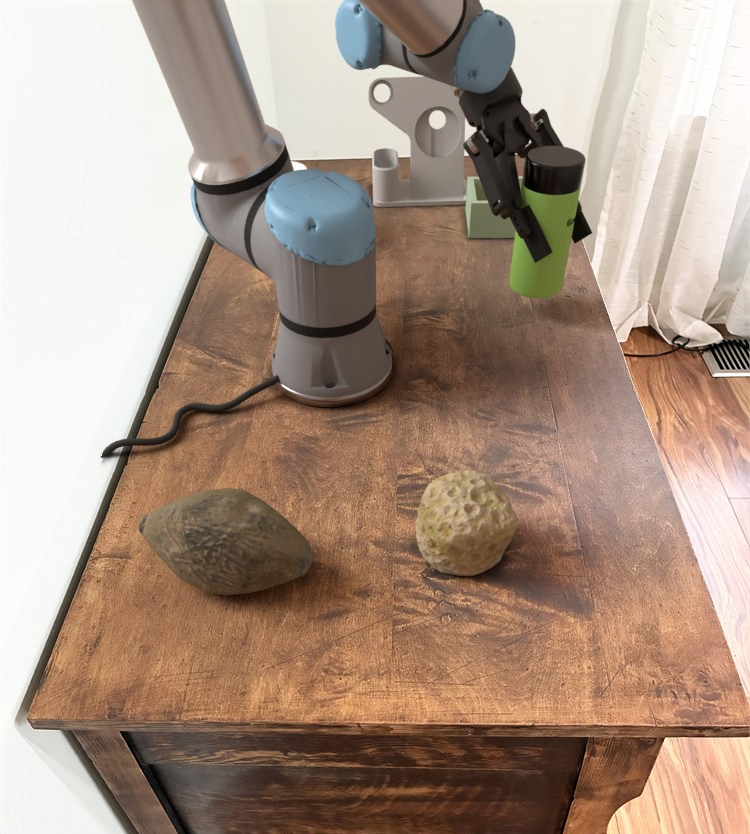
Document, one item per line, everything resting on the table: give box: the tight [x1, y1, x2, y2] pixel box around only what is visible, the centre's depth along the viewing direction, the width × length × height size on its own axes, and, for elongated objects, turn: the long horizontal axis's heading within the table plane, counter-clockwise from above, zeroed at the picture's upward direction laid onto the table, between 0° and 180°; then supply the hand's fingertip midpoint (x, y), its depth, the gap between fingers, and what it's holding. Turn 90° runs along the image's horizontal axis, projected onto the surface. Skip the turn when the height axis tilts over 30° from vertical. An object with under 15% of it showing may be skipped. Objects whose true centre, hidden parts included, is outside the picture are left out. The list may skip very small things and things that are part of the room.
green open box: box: [464, 175, 523, 239], centre depth 123 cm, size 10×10×6 cm
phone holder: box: [368, 76, 467, 208], centre depth 128 cm, size 17×10×18 cm, turn 90°
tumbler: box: [508, 146, 587, 299], centre depth 98 cm, size 8×8×17 cm
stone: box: [137, 487, 314, 596], centre depth 70 cm, size 17×9×8 cm, turn 80°
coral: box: [414, 469, 518, 577], centre depth 72 cm, size 9×9×8 cm
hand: (563, 247), depth 97 cm, fingers closed on tumbler, 7 cm apart
